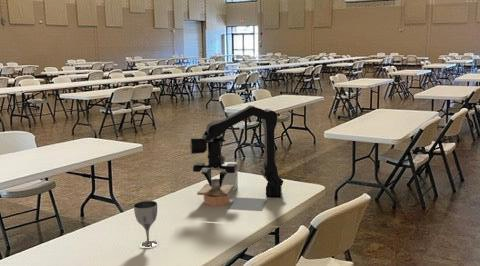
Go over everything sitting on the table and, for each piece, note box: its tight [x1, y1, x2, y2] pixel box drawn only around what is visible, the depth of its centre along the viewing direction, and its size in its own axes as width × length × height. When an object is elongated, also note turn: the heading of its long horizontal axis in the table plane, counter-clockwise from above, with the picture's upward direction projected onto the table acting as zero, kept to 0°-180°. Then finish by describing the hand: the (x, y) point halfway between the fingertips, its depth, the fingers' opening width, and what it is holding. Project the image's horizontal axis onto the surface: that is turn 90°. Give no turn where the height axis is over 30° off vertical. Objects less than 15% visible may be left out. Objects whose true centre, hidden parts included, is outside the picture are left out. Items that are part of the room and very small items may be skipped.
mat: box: [226, 196, 269, 212], centre depth 201 cm, size 15×15×1 cm
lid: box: [197, 178, 234, 196], centre depth 204 cm, size 13×13×5 cm
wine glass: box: [133, 200, 158, 247], centre depth 163 cm, size 8×8×15 cm
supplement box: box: [219, 161, 239, 192], centre depth 222 cm, size 7×7×13 cm
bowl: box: [202, 193, 230, 207], centre depth 205 cm, size 11×11×4 cm
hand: (215, 186), depth 204 cm, fingers closed on lid, 4 cm apart
